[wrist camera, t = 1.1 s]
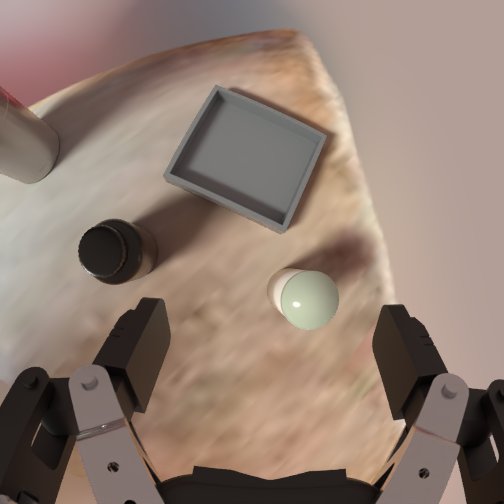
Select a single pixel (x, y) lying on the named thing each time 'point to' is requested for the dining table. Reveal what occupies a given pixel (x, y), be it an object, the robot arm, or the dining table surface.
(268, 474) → the dining table surface
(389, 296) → the dining table surface
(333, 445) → the dining table surface
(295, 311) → the green capped canister
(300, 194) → the tray
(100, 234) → the supplement bottle
